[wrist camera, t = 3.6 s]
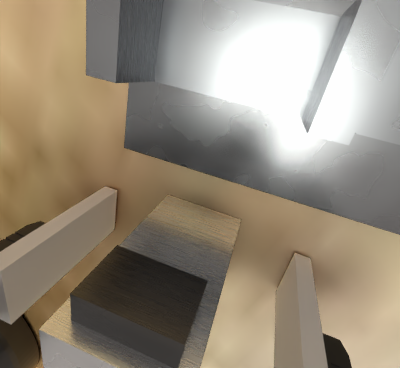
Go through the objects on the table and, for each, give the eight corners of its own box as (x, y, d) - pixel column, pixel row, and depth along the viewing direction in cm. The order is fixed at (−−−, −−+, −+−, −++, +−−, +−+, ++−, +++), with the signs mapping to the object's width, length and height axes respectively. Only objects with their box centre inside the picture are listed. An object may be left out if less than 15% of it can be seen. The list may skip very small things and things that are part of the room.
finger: (221, 276, 14) (164, 471, 7) (158, 251, 15) (48, 407, 8) (247, 202, 12) (199, 378, 5) (171, 177, 13) (35, 302, 6)
